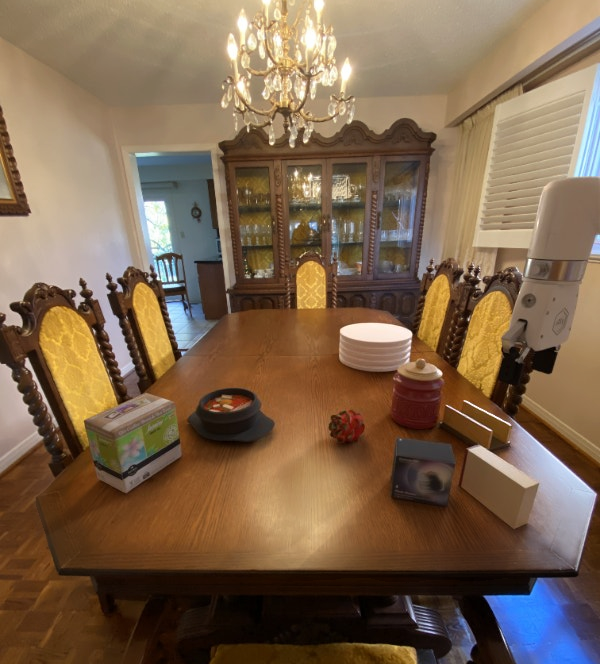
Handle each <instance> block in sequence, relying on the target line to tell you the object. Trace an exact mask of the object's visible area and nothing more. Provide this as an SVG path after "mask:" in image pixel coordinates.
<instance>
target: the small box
mask: <svg viewBox="0 0 600 664" xmlns="http://www.w3.org/2000/svg"><path fill="white" fill-rule="evenodd" d="M394 443H395V444H394V451H393V459H392V467H391V474H390V497H391V499H397V500H403V501H408V502H414V503H421V504H426V505H432V506H438V507H443V508H447V507H448V503H449V497H450V492H451V487H452V482H453V478H454V473H455V469H456V464H457V463H456V458H455V455H454V451H453V448H452V444H451V443H446V442H445V443H444V442H436V441H429V440H420V439H413V438H405V437H395V442H394Z"/></svg>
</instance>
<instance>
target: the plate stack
mask: <svg viewBox="0 0 600 664" xmlns="http://www.w3.org/2000/svg"><path fill="white" fill-rule="evenodd" d="M412 340H413V332H412V331H411V330H410V329H408V328H406V327H403V326H400V325H395V324H390V323H381V322H360V323H353V324H349V325H345V326H343V327H341V328H340V329H339V350H338V353H339V354H338V360H339V361H340V362H341V363H342V364H343V365H345V366H347V367H349V368H352V369H355V370H360V371H365V372H374V373H375V372H378V373H381V372H382V373H383V372H393V371H394V372H395V371H398V367H400V366H401V365H404V364H405V363H408V362H410V357H411V350H412Z"/></svg>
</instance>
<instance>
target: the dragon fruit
mask: <svg viewBox="0 0 600 664" xmlns="http://www.w3.org/2000/svg"><path fill="white" fill-rule="evenodd" d="M327 427H328V431H330V432H329V436H330V438H333V439H337V440H336V442H337V443H339V444H345V443H347V442H348V441H349V442H351V443H357V442H358V441H359V437H360V436H361V435H362V434H363V433H364V432H365V430H366V425H365V422H364V417H363V415H362V414H361V412H357V411H356V410H355V409H349V410H347V409H345V410H341V411H339V412H338V413H337V414H332V415H331V416H330V422H329V423H328V426H327Z"/></svg>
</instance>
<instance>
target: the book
mask: <svg viewBox="0 0 600 664" xmlns="http://www.w3.org/2000/svg"><path fill="white" fill-rule="evenodd" d="M539 486H540V482H539V481H538V480H536V479H535V478H533V477H531V476H530V475H528V474H527V473H525V472H523V471H521V470H520V469H519V468H517V467H515V466H514V465H512V464H511V463H509V462H508V461H506V460H504V459H503V458H501V457H500V456H498V455H496V454H495V453H493V451H492V452H490V451H489V450H487V449H485V448H484V447H482V446H481V445H476V446H473V447H471V446H469V447H467V448H465V451H464V457H463V461H462V465H461V471H460V477H459V481H458V487H461V489H463V490H464V491H466V492H467V493H468V494H469V495H471V496H472V497H473V498H474V499H475V500H477V502H479V503H480V504H482V505H483V506H484V507H486V509H488V510H489V511H490V512H492V513H493V514H494V515H495V516H497V517H498V518H499V519H500V520H501V521H503V522H504V523H505V524H506V525H508V526H509V527H510V528H511V529H512V530H515V529H518V528H519V527H523V526H524V525H526V524H528V522H529V519H530V515H531V512H532V509H533V506H534V503H535V499H536V496H537V493H538V490H539Z"/></svg>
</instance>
